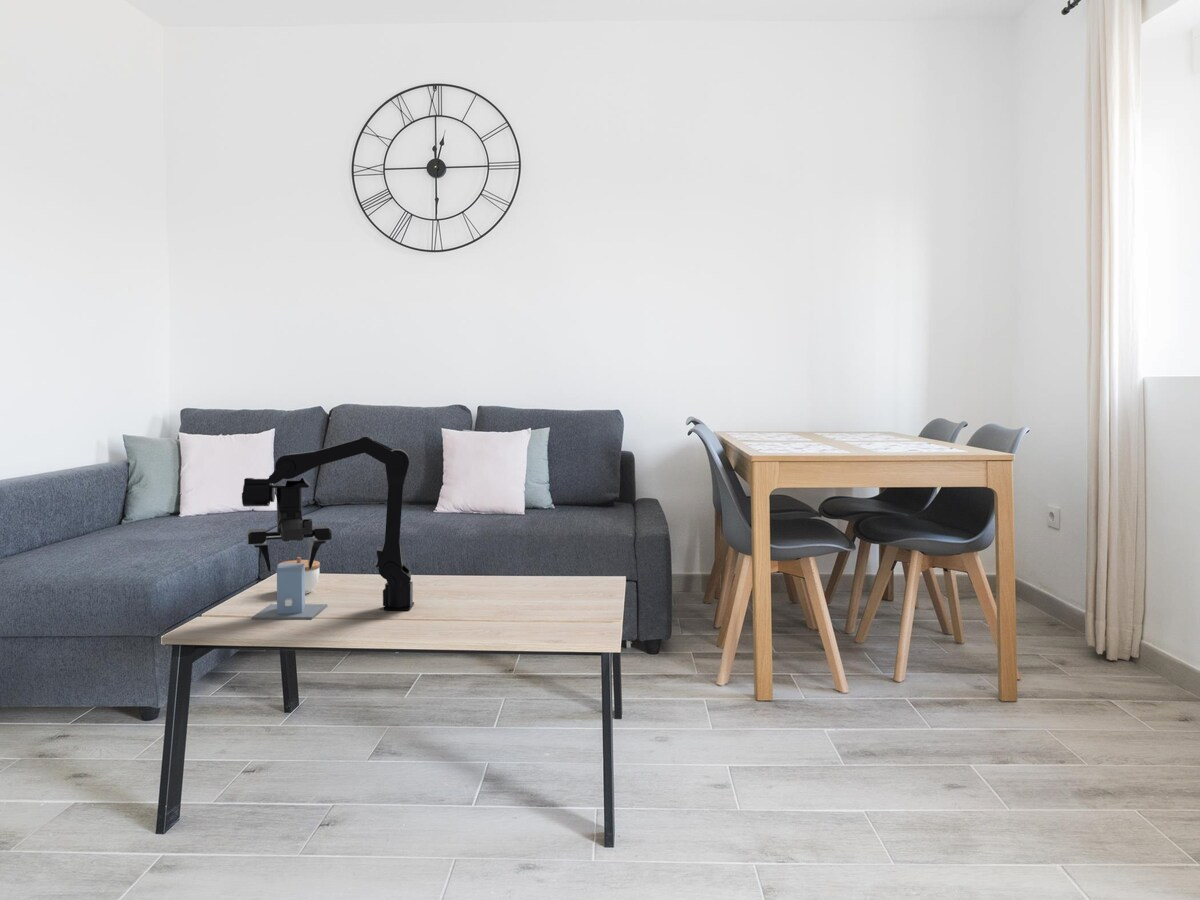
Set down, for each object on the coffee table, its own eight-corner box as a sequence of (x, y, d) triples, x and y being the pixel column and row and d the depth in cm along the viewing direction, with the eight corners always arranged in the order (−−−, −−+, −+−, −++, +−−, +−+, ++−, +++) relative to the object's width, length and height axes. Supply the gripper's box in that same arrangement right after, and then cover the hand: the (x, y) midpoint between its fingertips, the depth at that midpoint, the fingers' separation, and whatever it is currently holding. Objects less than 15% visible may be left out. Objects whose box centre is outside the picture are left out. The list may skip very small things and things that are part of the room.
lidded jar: (306, 598, 209) (305, 562, 209) (269, 595, 212) (268, 560, 211) (327, 588, 220) (327, 554, 219) (292, 586, 222) (292, 552, 222)
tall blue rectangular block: (280, 607, 197) (280, 563, 196) (305, 606, 198) (304, 562, 198) (275, 616, 190) (275, 570, 189) (300, 614, 191) (300, 569, 190)
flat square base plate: (327, 606, 201) (327, 588, 201) (312, 619, 189) (312, 600, 189) (270, 606, 201) (270, 588, 200) (252, 618, 189) (251, 600, 188)
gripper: (249, 512, 182) (250, 580, 183) (335, 508, 191) (335, 573, 191) (246, 506, 192) (246, 570, 193) (327, 503, 200) (327, 564, 201)
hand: (289, 570), depth 194 cm, fingers open, 9 cm apart
